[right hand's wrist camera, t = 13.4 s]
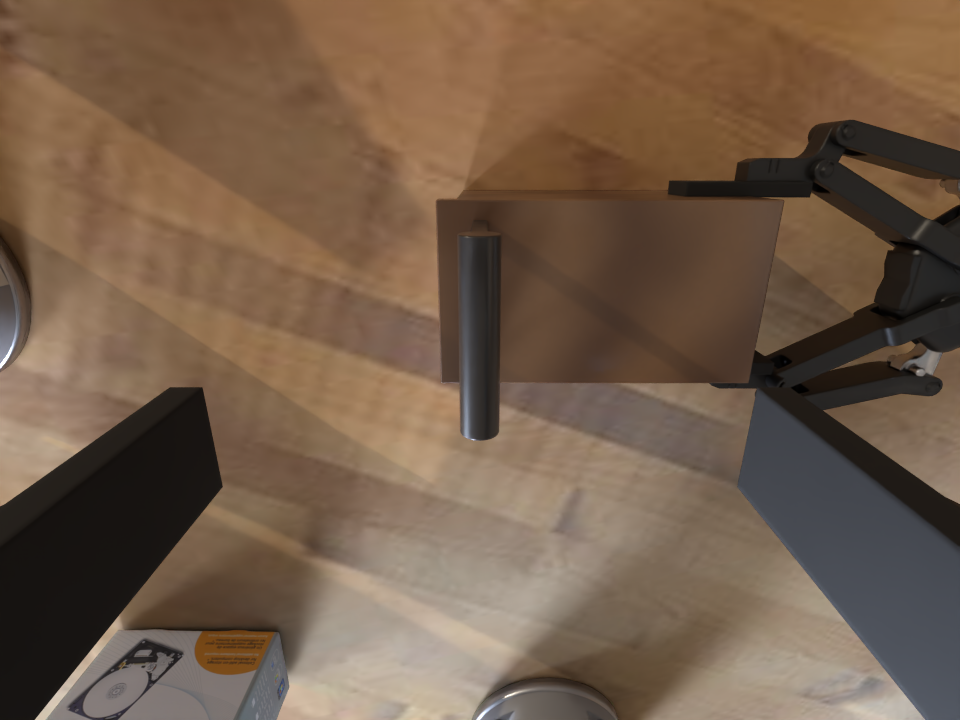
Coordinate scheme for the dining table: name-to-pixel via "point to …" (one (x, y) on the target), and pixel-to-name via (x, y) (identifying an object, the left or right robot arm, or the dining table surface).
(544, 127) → the dining table surface
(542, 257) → the chest lid with handle
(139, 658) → the hard drive box
